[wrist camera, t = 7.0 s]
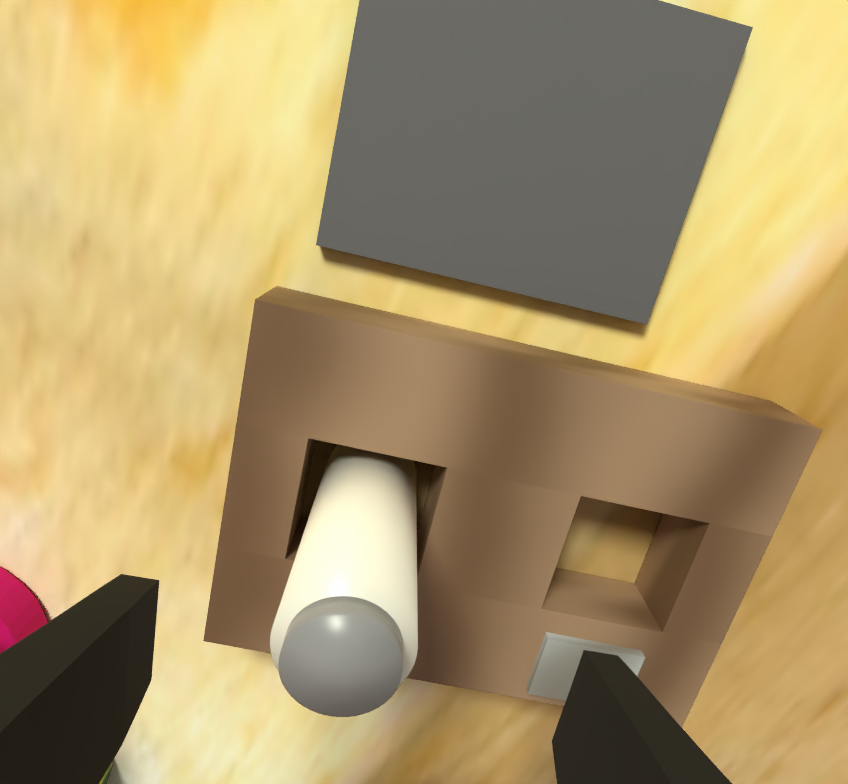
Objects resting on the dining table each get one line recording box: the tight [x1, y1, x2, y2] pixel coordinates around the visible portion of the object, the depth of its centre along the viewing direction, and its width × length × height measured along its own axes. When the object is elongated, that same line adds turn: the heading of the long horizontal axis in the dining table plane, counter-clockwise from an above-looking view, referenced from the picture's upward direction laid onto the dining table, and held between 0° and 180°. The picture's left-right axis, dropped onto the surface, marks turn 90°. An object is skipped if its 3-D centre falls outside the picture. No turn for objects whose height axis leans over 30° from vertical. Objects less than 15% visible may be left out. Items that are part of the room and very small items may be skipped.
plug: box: [270, 444, 418, 717], centre depth 16 cm, size 3×3×9 cm
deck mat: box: [316, 0, 753, 324], centre depth 16 cm, size 10×8×1 cm
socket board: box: [204, 286, 822, 728], centre depth 19 cm, size 16×11×3 cm
